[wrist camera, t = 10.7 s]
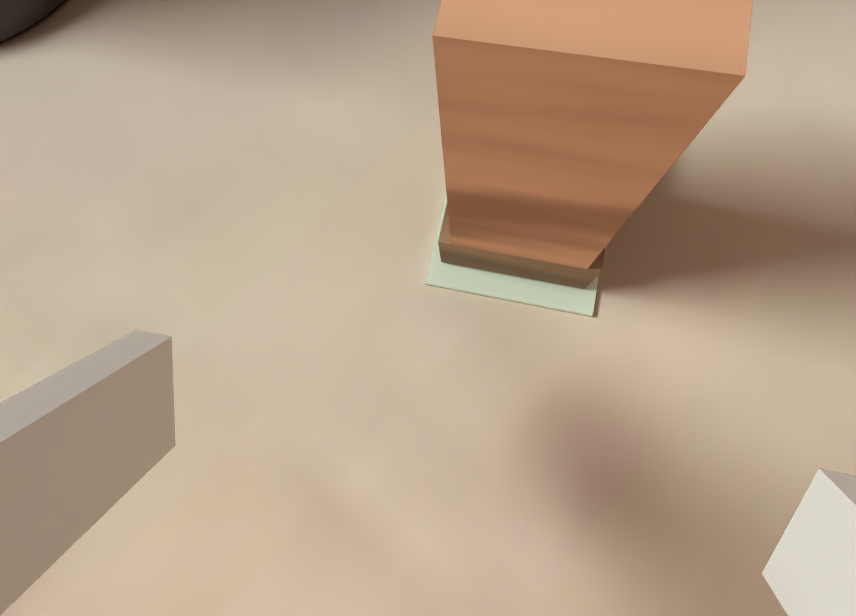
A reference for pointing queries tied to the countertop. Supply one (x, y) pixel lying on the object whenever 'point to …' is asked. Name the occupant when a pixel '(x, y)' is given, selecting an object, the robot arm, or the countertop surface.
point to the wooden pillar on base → (570, 120)
